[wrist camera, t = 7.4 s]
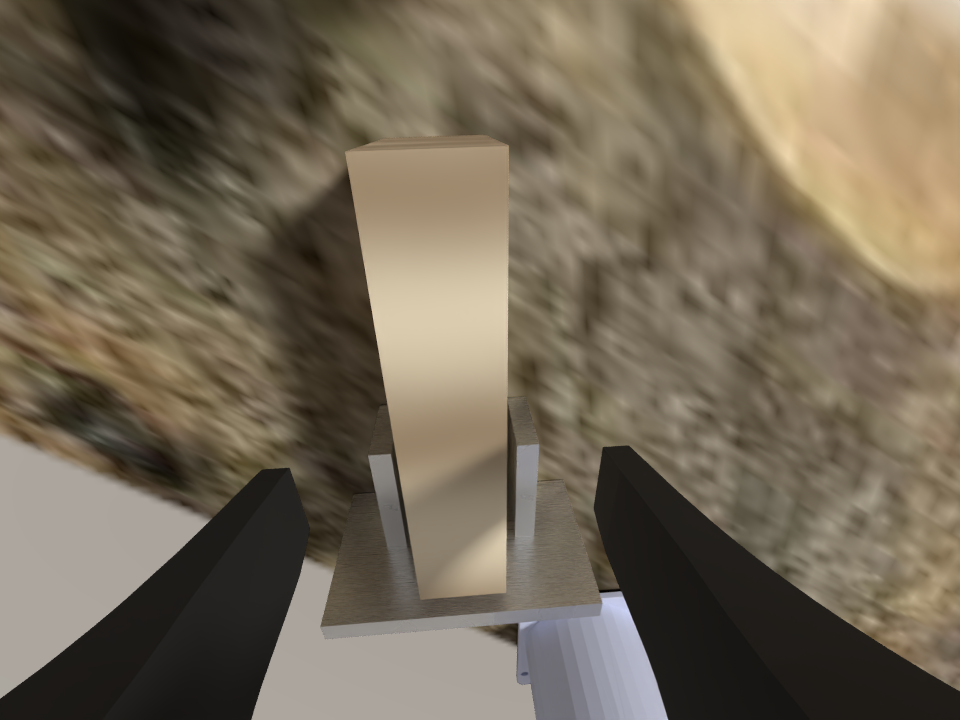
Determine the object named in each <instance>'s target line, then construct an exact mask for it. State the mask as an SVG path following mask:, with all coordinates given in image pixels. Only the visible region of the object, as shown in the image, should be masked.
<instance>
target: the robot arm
mask: <svg viewBox="0 0 960 720" xmlns="http://www.w3.org/2000/svg"><path fill="white" fill-rule="evenodd" d="M594 512H595V516H596V519H597V523H598V527H599V531H600V534H601V538H602V541H603V545H604V548H605V552H606V554H607V557H608V559H609V562H610V564H611V567H612V569H613V572H614V574H615V577H616V579H617V582H618V584H619V587H620V589H621V591H618V592H606V593H600V596H601V600H602V603H603V604H602V609H601V614H600V616H593V617H581V618H570V619H558V620H546V621H534V622H523V623H518V646H517V682H518V683H519V684H531V688H532V695H533V701H534V708H535V715H536V720H960V691H958V690H956V689H955V688H953V687H951V686H949V685H948V684H946V683H944V682H943V681H941V680H939V679H937V678H936V677H934V676H932V675H930V674H929V673H927V672H926V671H924V670H922V669H921V668H919V667H917V666H916V665H914V664H912V663H911V662H909V661H907V660H906V659H904V658H902V657H901V656H899V655H898V654H896V653H894V652H893V651H891V650H889V649H888V648H886V647H885V646H883V645H882V644H880V643H878V642H877V641H875V640H874V639H872V638H871V637H869V636H868V635H866V634H865V633H863V632H861V631H860V630H858V629H857V628H855V627H854V626H852V625H851V624H849V623H847V622H846V621H844V620H843V619H841V618H840V617H838V616H837V615H835V614H834V613H832V612H831V611H829V610H828V609H826V608H825V607H823V606H822V605H821V604H819V603H818V602H816V601H815V600H813V599H812V598H810V597H809V596H808V595H806V594H805V593H803V592H802V591H801V590H799V589H798V588H797V587H795V586H794V585H792V584H791V583H790V582H788V581H787V580H785V579H784V578H783V577H781V576H780V575H778V574H777V573H776V572H774V571H773V570H772V569H770V568H769V567H768V566H766V565H765V564H764V563H762V562H761V561H760V560H758V559H757V558H756V557H755V556H753V555H752V554H751V553H750V552H748V551H747V550H746V549H745V548H743V547H742V546H741V545H740V544H738V543H737V542H736V541H735V540H733V539H732V538H731V537H730V536H728V535H727V534H726V533H725V532H724V531H722V530H721V529H720V528H719V527H718V526H716V525H715V524H714V523H713V522H712V521H711V520H709V519H708V518H707V517H706V516H705V515H704V514H703V513H701V512H700V511H699V510H698V509H697V508H696V507H695V506H693V505H692V504H691V503H690V502H689V501H688V500H687V499H686V498H684V497H683V496H682V495H681V494H680V493H679V492H678V491H677V490H676V489H675V488H674V487H672V486H671V485H670V484H669V483H668V482H667V481H666V480H665V479H664V478H663V477H662V476H661V475H660V474H659V473H657V472H656V471H655V470H654V469H653V468H652V467H651V466H650V465H649V464H648V463H647V462H646V461H645V460H644V459H643V458H642V457H640V456H639V455H638V454H637V453H636V452H635V451H634V450H633V449H632V448H631V447H630V446H613V447H603V450H602V457H601V463H600V470H599V476H598V483H597V489H596V496H595V503H594ZM309 531H310V527H309V524H308V521H307V518H306V515H305V512H304V509H303V506H302V503H301V500H300V497H299V495H298V492H297V489H296V486H295V483H294V480H293V477H292V474H291V471H290V468H279V469H264V470H261V471H260V472H259V473H258V474H257V475H256V476H255V477H254V478H253V479H252V480H251V481H250V482H249V483H248V484H247V485H246V486H245V487H244V488H243V489H242V490H241V491H240V492H239V493H238V494H237V495H236V496H235V497H234V498H233V499H232V500H231V501H230V502H229V503H228V504H227V505H226V506H225V507H224V508H223V509H222V510H221V511H220V512H219V513H218V514H217V515H216V516H215V517H214V518H213V519H211V520H210V521H209V522H208V523H207V524H206V525H205V526H204V527H203V528H202V529H201V530H200V531H199V532H198V533H197V534H196V535H195V536H194V537H193V538H192V539H191V540H190V541H189V542H188V543H187V544H186V545H185V546H184V547H183V548H182V549H181V550H180V551H179V552H177V553H176V554H175V555H174V556H173V557H172V558H171V559H170V560H169V561H168V562H167V563H165V564H164V565H163V566H162V567H161V568H160V569H159V570H158V571H156V572H155V573H154V574H153V575H152V576H151V577H150V578H149V579H148V580H147V581H145V582H144V583H143V584H142V585H141V586H140V587H139V588H138V589H137V590H136V591H134V592H133V593H132V594H131V595H130V596H129V597H128V598H127V599H126V600H124V601H123V602H122V603H121V604H120V605H119V606H118V607H116V608H115V609H114V610H113V611H112V612H110V613H109V614H108V615H107V616H106V617H105V618H103V619H102V620H101V621H100V622H98V623H97V624H96V625H95V626H94V627H92V628H91V629H90V630H89V631H88V632H86V633H85V634H84V635H83V636H81V637H80V638H79V639H78V640H76V641H75V642H74V643H73V644H71V645H70V646H69V647H68V648H66V649H65V650H64V651H63V652H62V653H60V654H59V655H58V656H57V657H55V658H54V659H53V660H51V661H50V662H49V663H47V664H46V665H45V666H44V667H42V668H41V669H40V670H38V671H37V672H36V673H34V674H33V675H32V676H30V677H29V678H28V679H26V680H25V681H24V682H22V683H21V684H20V685H18V686H17V687H16V688H14V689H13V690H11V691H10V692H9V693H7V694H6V695H5V696H3V697H2V698H1V699H0V720H251V719H252V715H253V711H254V708H255V705H256V702H257V699H258V695H259V692H260V689H261V686H262V683H263V680H264V677H265V674H266V672H267V669H268V666H269V663H270V660H271V657H272V654H273V652H274V649H275V646H276V643H277V640H278V637H279V634H280V631H281V629H282V626H283V623H284V620H285V617H286V614H287V612H288V608H289V606H290V603H291V600H292V597H293V594H294V591H295V588H296V585H297V582H298V579H299V576H300V573H301V568H302V564H303V560H304V556H305V551H306V546H307V541H308V536H309Z"/></svg>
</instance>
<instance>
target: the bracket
mask: <svg viewBox="0 0 960 720" xmlns="http://www.w3.org/2000/svg"><path fill="white" fill-rule="evenodd" d="M538 457H539V442H538V438H537V435H536V431H535V428H534V424H533V420H532V417H531V413H530V410H529V406H528V403H527V399H526V397H512V398H507V540H506V593H496V594H484V595H472V596H460V597H448V598H436V599H424V600H420V595H419V589H418V583H417V577H416V571H415V565H414V559H413V553H412V547H411V541H410V535H409V529H408V523H407V517H406V511H405V505H404V499H403V494H402V488H401V482H400V476H399V470H398V464H397V458H396V452H395V446H394V440H393V434H392V428H391V422H390V416H389V410H388V405H380V407H379V411H378V415H377V419H376V424H375V428H374V432H373V437H372V441H371V445H370V449H369V454H368V458H369V463H370V467H371V472H372V477H373V482H374V486H375V491H376V493H364V494H353V498H352V502H351V506H350V510H349V514H348V518H347V522H346V526H345V530H344V534H343V538H342V542H341V546H340V550H339V554H338V558H337V562H336V566H335V570H334V574H333V579H332V582H331V586H330V591H329V595H328V599H327V602H326V607H325V611H324V615H323V619H322V623H321V630H322V632H323V635H324V637H325V639H334V638H346V637H358V636H369V635H381V634H392V633H405V632H416V631H427V630H440V629H452V628H464V627H475V626H487V625H499V624H511V623H523V622H534V621H546V620H558V619H570V618H581V617H593V616H600V614H601V609H602V604H603V603H602V600H601V596H600V593H599V590H598V587H597V584H596V581H595V578H594V574H593V571H592V568H591V565H590V562H589V559H588V556H587V553H586V549H585V546H584V543H583V540H582V537H581V534H580V531H579V528H578V524H577V521H576V518H575V515H574V512H573V509H572V506H571V503H570V499H569V496H568V493H567V490H566V487H565V484H564V481H563V480H550V481H537V475H538Z"/></svg>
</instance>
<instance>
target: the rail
mask: <svg viewBox="0 0 960 720" xmlns="http://www.w3.org/2000/svg"><path fill="white" fill-rule="evenodd" d="M345 153H346V159H347V165H348V171H349V177H350V183H351V189H352V195H353V201H354V207H355V213H356V219H357V225H358V231H359V237H360V243H361V249H362V255H363V261H364V267H365V273H366V279H367V285H368V291H369V297H370V303H371V308H372V314H373V320H374V326H375V332H376V338H377V344H378V350H379V356H380V362H381V368H382V374H383V380H384V386H385V392H386V398H387V404H388V410H389V416H390V422H391V428H392V434H393V440H394V446H395V452H396V458H397V464H398V470H399V476H400V482H401V488H402V494H403V499H404V505H405V511H406V517H407V523H408V529H409V535H410V541H411V547H412V553H413V559H414V565H415V571H416V577H417V583H418V589H419V595H420V600H424V599H436V598H448V597H460V596H472V595H484V594H496V593H506V540H507V369H508V198H509V146H508V145H506V144H504V143H501V142H499V141H497V140H495V139H493V138H490V137H488V136H486V135H465V136H435V137H405V138H385V139H382V140H379V141H376V142H373V143H370V144H367V145H364V146H361V147H358V148H355V149H352V150H349V151H346V152H345Z"/></svg>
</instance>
